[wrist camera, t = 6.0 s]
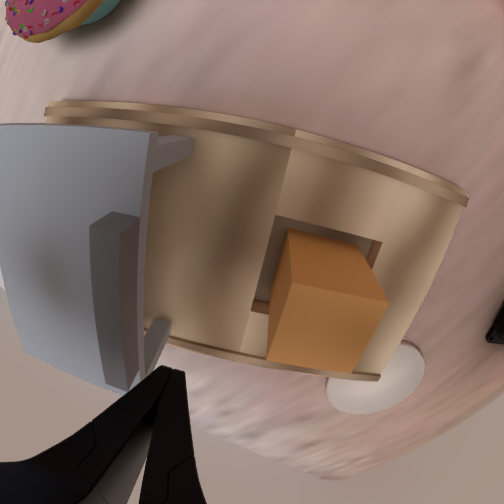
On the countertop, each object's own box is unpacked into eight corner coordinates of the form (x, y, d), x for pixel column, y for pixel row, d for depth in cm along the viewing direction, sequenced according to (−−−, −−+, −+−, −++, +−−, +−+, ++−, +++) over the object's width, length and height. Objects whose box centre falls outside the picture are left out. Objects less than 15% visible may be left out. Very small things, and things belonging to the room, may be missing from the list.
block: (357, 245, 18) (389, 302, 12) (334, 304, 20) (350, 373, 14) (287, 227, 18) (292, 282, 12) (269, 291, 20) (265, 360, 14)
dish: (439, 345, 21) (443, 351, 20) (392, 409, 25) (394, 415, 24) (350, 332, 21) (352, 339, 20) (311, 404, 25) (311, 410, 24)
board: (456, 185, 16) (470, 192, 14) (371, 369, 22) (375, 384, 21) (62, 101, 15) (46, 101, 14) (63, 296, 22) (52, 307, 20)
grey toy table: (196, 128, 14) (128, 136, 7) (170, 337, 20) (132, 422, 13) (62, 116, 14) (-32, 130, 7) (66, 304, 20) (11, 365, 13)
